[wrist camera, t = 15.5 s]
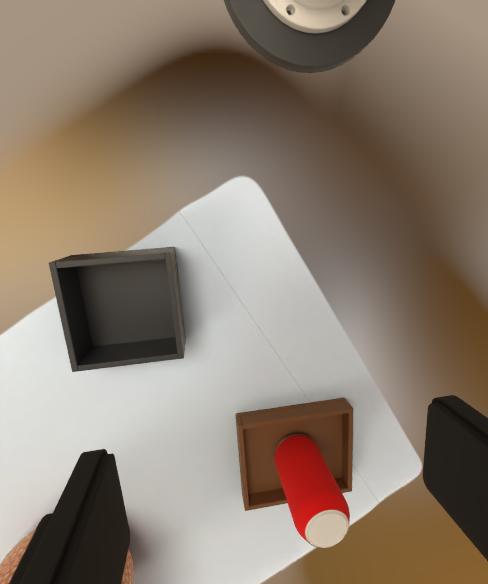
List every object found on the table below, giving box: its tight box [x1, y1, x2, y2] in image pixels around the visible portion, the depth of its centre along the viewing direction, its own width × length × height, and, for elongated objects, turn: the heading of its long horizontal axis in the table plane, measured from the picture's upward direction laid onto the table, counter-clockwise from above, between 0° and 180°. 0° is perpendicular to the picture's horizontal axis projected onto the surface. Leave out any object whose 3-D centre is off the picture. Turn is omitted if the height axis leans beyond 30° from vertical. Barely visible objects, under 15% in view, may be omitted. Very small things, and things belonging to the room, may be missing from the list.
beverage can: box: [274, 434, 350, 548], centre depth 39 cm, size 6×6×12 cm
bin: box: [49, 247, 185, 372], centre depth 35 cm, size 11×11×6 cm
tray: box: [236, 398, 353, 511], centre depth 44 cm, size 15×13×3 cm
